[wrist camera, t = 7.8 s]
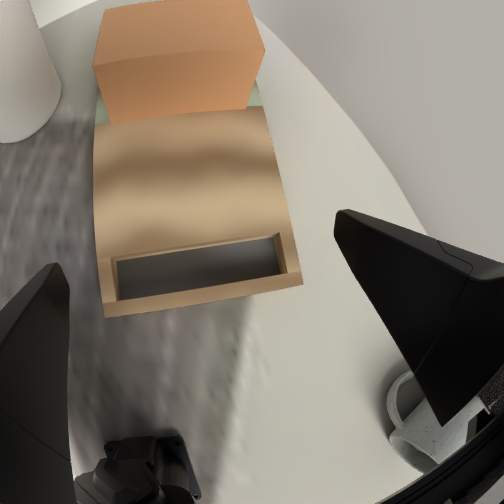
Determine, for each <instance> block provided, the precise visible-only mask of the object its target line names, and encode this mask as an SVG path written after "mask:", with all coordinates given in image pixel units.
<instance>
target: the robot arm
mask: <svg viewBox="0 0 504 504" xmlns="http://www.w3.org/2000/svg"><path fill="white" fill-rule="evenodd" d="M334 238H335V240H336V242H337V244H338V246H339V248H340V250H341V252H342V254H343V256H344V257H345V259H346V261H347V263H348V265H349V267H350V269H351V271H352V273H353V274H354V276H355V278H356V279H357V281H358V282H359V284H360V286H361V287H362V289H363V290H364V292H365V293H366V295H367V297H368V298H369V300H370V301H371V303H372V305H373V306H374V308H375V309H376V311H377V313H378V314H379V316H380V318H381V319H382V321H383V323H384V324H385V326H386V328H387V329H388V331H389V333H390V334H391V336H392V338H393V339H394V341H395V343H396V345H397V346H398V348H399V350H400V351H401V353H402V355H403V357H404V358H405V360H406V362H407V364H408V366H409V367H410V369H411V371H412V373H413V374H414V377H415V379H416V380H417V382H418V384H419V386H420V388H421V390H422V391H423V393H424V395H425V397H426V399H427V401H428V403H429V405H430V407H431V409H432V411H433V413H434V415H435V417H436V419H437V421H438V423H439V424H440V426H441V427H444V426H445V425H447V424H448V423H449V422H451V421H452V420H453V419H455V418H456V417H457V416H459V415H460V414H461V413H463V412H464V411H465V410H466V409H468V408H469V407H470V406H471V405H473V404H474V403H475V402H476V401H477V400H479V402H480V403H481V405H482V406H483V407H484V408H483V409H482V410H481V411H480V412H479V413H478V414H476V415H475V416H474V417H473V418H472V419H471V420H470V421H469V422H468V428H467V436H466V443H465V444H464V445H463V446H462V447H461V448H459V449H458V450H457V451H456V452H454V453H453V454H452V455H450V456H449V457H448V458H447V459H445V460H444V461H442V462H441V463H440V464H438V465H437V466H436V467H434V468H433V469H431V470H430V471H428V472H427V473H425V474H424V475H422V476H421V477H419V478H418V479H416V480H415V481H413V482H412V483H410V484H408V485H407V486H405V487H404V488H402V489H400V490H399V491H397V492H395V493H393V494H392V495H390V496H388V497H386V498H385V499H383V500H381V501H379V502H377V503H375V504H504V263H501V262H497V261H495V260H492V259H489V258H486V257H483V256H481V255H478V254H475V253H472V252H469V251H466V250H464V249H461V248H458V247H455V246H453V245H450V244H447V243H445V242H442V241H439V240H436V239H434V238H431V237H429V236H426V235H423V234H421V233H418V232H415V231H412V230H409V229H407V228H404V227H401V226H398V225H395V224H392V223H389V222H387V221H384V220H381V219H378V218H375V217H372V216H369V215H366V214H363V213H359V212H356V211H353V210H350V209H345V210H339V211H338V212H337V213H336V218H335V226H334ZM69 297H70V289H69V284H68V282H67V280H66V277H65V275H64V273H63V271H62V268H61V266H60V265H59V264H58V263H52V264H48V265H46V266H45V267H44V268H43V269H41V270H40V271H39V272H38V273H37V274H36V275H35V276H34V277H33V278H32V279H31V280H30V281H29V282H28V283H27V284H26V285H25V286H24V287H23V288H22V289H21V290H20V291H19V292H18V293H17V294H16V295H15V296H14V297H13V298H12V299H11V300H10V301H9V302H8V303H7V305H6V306H5V307H4V308H3V309H2V310H1V311H0V504H199V503H198V502H197V501H196V500H199V499H200V498H201V491H200V488H199V485H198V483H197V480H196V477H195V474H194V471H193V468H192V465H191V462H190V459H189V456H188V453H187V449H186V446H185V443H184V440H183V438H182V437H180V436H170V437H161V438H156V437H154V436H147V437H136V438H124V439H123V441H111V442H107V443H105V445H104V450H105V453H106V455H107V458H103V459H100V461H99V463H98V464H97V466H96V468H95V470H94V471H92V472H88V473H83V474H81V475H80V476H78V477H76V478H75V480H74V481H73V474H72V466H71V462H70V461H71V458H70V447H69V434H68V413H67V371H68V349H69V333H70V322H69ZM176 440H178V441H180V443H179V444H176V443H175V442H174V441H176ZM108 446H111V447H112V448H113V449H112V450H111V449H109V448H108ZM193 494H198V495H196V496H194V495H193Z"/></svg>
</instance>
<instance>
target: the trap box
mask: <svg viewBox="0 0 504 504" xmlns="http://www.w3.org/2000/svg"><path fill="white" fill-rule="evenodd" d="M93 206H94V227H95V242H96V254H97V264H98V273H99V282H100V289H101V297H102V304H103V310H104V316H105V318H109V317H117V316H124V315H131V314H138V313H145V312H152V311H158V310H165V309H171V308H178V307H184V306H190V305H196V304H202V303H208V302H214V301H219V300H225V299H231V298H236V297H242V296H247V295H253V294H258V293H263V292H269V291H274V290H279V289H284V288H289V287H294V286H299V285H303V279H302V274H301V269H300V264H299V259H298V254H297V249H296V245H295V240H294V235H293V231H292V226H291V221H290V217H289V212H288V208H287V203H286V199H285V195H284V190H283V186H282V182H281V177H280V173H279V169H278V165H277V161H276V157H275V152H274V148H273V144H272V140H271V136H270V132H269V128H268V125H267V121H266V117H265V113H264V109H263V105H262V102H261V98H260V94H259V91H258V87H257V83H256V80H255V82H254V85H253V88H252V91H251V94H250V97H249V100H248V103H247V106H246V109H237V110H220V111H206V112H195V113H185V114H176V115H167V116H160V117H152V118H146V119H139V120H133V121H127V122H121V123H116V124H111V121H110V119H109V116H108V113H107V110H106V107H105V104H104V101H103V98H102V95H101V92H100V88H99V85H98V93H97V103H96V114H95V128H94V149H93Z"/></svg>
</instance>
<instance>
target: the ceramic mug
mask: <svg viewBox="0 0 504 504" xmlns="http://www.w3.org/2000/svg"><path fill="white" fill-rule="evenodd" d="M413 376H414V374H413V373H412V371H411V370H410V371H408V372H405V373H403V374H402V375H400V376H399V377H398V378H397V379H396V380H395V381H394V383H393V384H392V385H391V387H390V389H389V391H388V394H387V402H386V404H387V411H388V413H389V416H390V418H391V420H392V422H393V424H394V425H395V427H396V429H395V430H394V431H393V432H392V433H391V434H390V436H389V441H390V443H391V445H392V447H393V449H394V450H395V451H396V452H397V454H398V455H400V457H401V458H403V459H404V460H405V461H406V462H407V463H408V464H410V465H411V466H412V467H413V468H415V469H417V470H418V471H420V472H422V473H423V474H425V473H427V472H428V471H430V470H431V469H433V468H434V467H436V466H437V465H438V464H440V463H441V462H442V461H444V460H445V459H447V458H448V457H449V456H450V455H452V454H453V453H454V452H456V451H457V450H458V449H459V448H461V447H462V446H463V445H464V444H465V443H466V436H467V428H468V422H469V421H470V420H471V419H472V418H473V417H474V416H475V415H476V414H478V413H479V412H480V411H481V410H482V409H483V408H484V407H483V406H482V405H481V403H480V402H479V400H477V401H476V402H475V403H474V404H473V405H471V406H470V407H469V408H468V409H466V410H465V411H464V412H463V413H461V414H460V415H459V416H457V417H456V418H455V419H453V420H452V421H451V422H449V423H448V424H447V425H445V426H444V427H441V426H440V424H439V423H438V421H437V419H436V417H435V415H434V413H433V411H432V409H431V407H430V405H429V403H428V401H427V399H426V397H425V398H424V399H423V400H422V401H421V403H420V404H419V405H418V406H417V407H416V408H415V409H414V410H413V411H412V412H411V413H410V414H409V415H408V417H407V418H406V419H405V420H404V421H403V422H402V420H401V417H400V416H399V413H398V410H397V406H396V398H397V391H398V387H399V386H400V385H401V384H403V383H404V382H405V381H407V380H411V378H412V377H413Z"/></svg>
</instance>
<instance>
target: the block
mask: <svg viewBox="0 0 504 504" xmlns="http://www.w3.org/2000/svg"><path fill="white" fill-rule="evenodd" d="M264 53H265V48H264V45H263V42H262V39H261V37H260V34H259V31H258V28H257V25H256V23H255V20H254V17H253V14H252V12H251V9H250V7H249V4H248V1H247V0H165V1H155V2H147V3H140V4H133V5H127V6H121V7H116V8H111V9H106V10H105V11H104V15H103V19H102V23H101V27H100V32H99V36H98V41H97V46H96V51H95V56H94V61H93V69H94V72H95V76H96V79H97V82H98V85H99V88H100V92H101V95H102V98H103V101H104V104H105V107H106V110H107V113H108V116H109V119H110V121H111V124H116V123H121V122H127V121H133V120H139V119H146V118H152V117H160V116H167V115H176V114H185V113H195V112H206V111H220V110H237V109H246V106H247V103H248V100H249V97H250V94H251V91H252V88H253V85H254V82H255V79H256V76H257V73H258V70H259V67H260V64H261V62H262V59H263V56H264Z"/></svg>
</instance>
